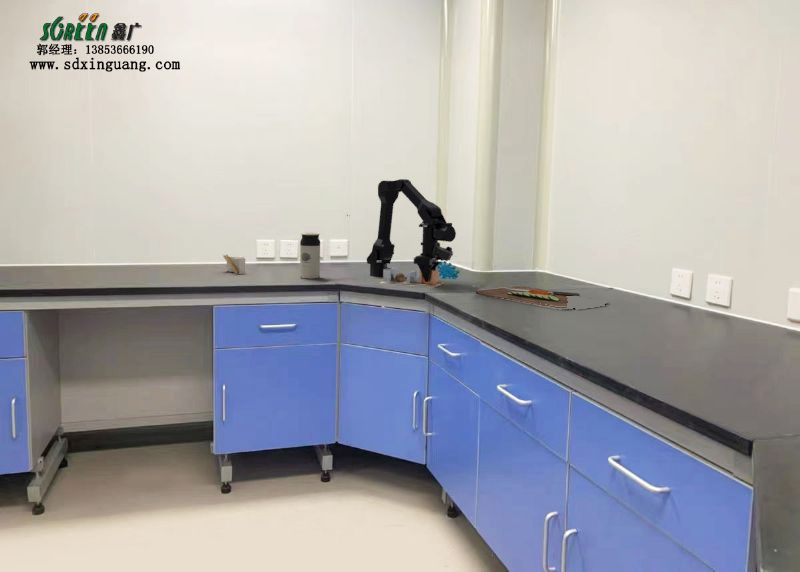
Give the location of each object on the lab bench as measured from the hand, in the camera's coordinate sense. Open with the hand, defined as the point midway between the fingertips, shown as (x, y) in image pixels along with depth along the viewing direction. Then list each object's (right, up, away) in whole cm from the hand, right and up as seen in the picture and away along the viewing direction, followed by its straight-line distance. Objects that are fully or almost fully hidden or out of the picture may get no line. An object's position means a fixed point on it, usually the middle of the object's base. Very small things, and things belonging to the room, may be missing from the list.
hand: (428, 281), depth 255 cm
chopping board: (+38, -7, -17) cm, 42 cm away
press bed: (-7, -2, +3) cm, 7 cm away
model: (-81, +3, +28) cm, 85 cm away
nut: (-11, 0, +5) cm, 12 cm away
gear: (+9, 0, +23) cm, 24 cm away
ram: (-2, -1, +1) cm, 3 cm away
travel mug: (-47, +1, +19) cm, 51 cm away
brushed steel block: (-14, 0, +6) cm, 16 cm away
